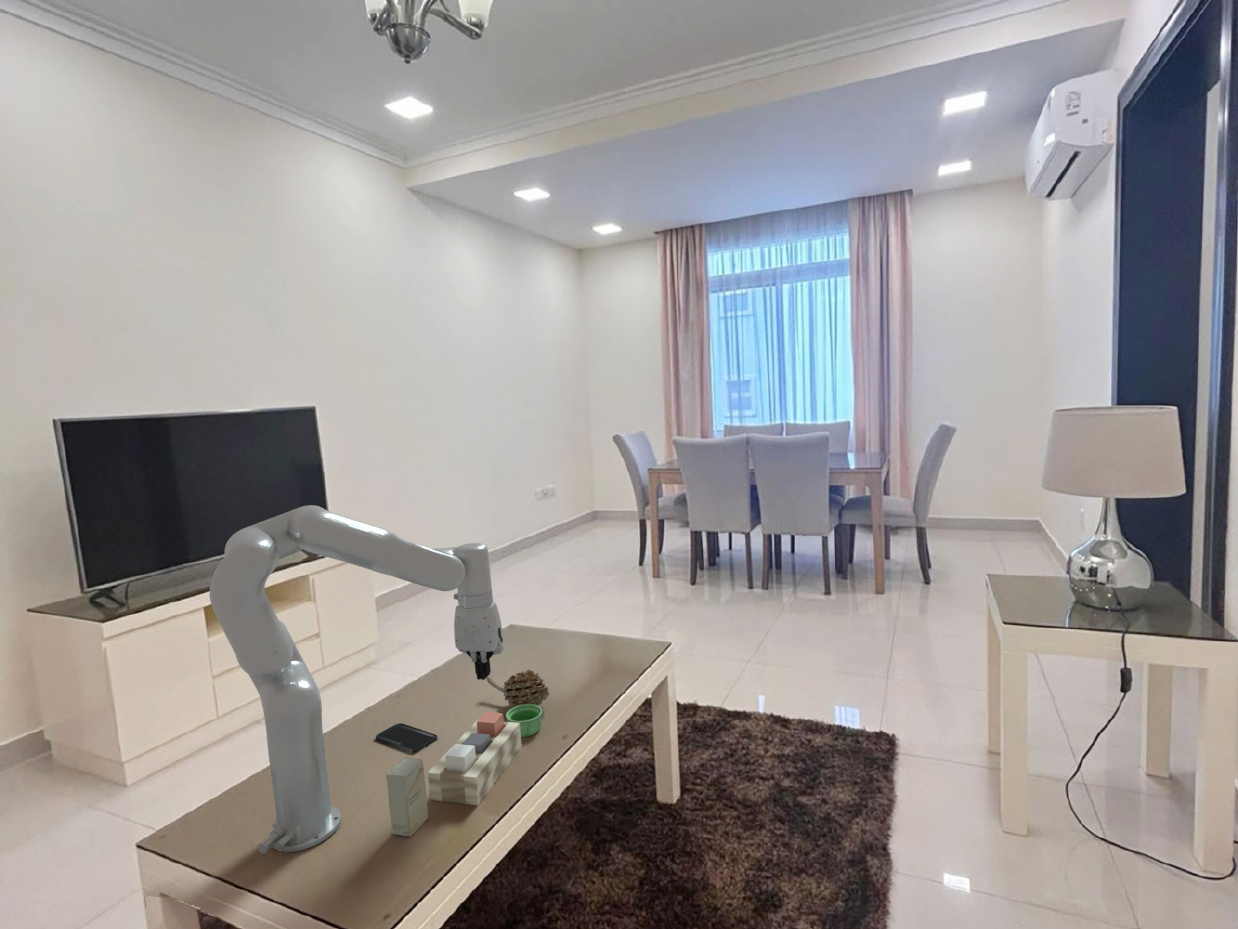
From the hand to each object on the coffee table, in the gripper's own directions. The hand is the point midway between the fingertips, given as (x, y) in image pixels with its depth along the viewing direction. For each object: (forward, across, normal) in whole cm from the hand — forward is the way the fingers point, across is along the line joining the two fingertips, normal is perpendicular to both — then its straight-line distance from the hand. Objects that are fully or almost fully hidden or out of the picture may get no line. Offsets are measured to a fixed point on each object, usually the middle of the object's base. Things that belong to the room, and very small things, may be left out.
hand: (483, 676), depth 143 cm
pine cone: (+20, -6, +26) cm, 33 cm away
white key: (+16, 0, -12) cm, 20 cm away
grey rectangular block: (+17, 0, -5) cm, 18 cm away
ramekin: (+20, +2, +14) cm, 25 cm away
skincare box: (+20, -5, -24) cm, 32 cm away
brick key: (+16, -1, +2) cm, 16 cm away
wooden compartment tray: (+20, 0, -5) cm, 20 cm away
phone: (+20, -26, +4) cm, 33 cm away
